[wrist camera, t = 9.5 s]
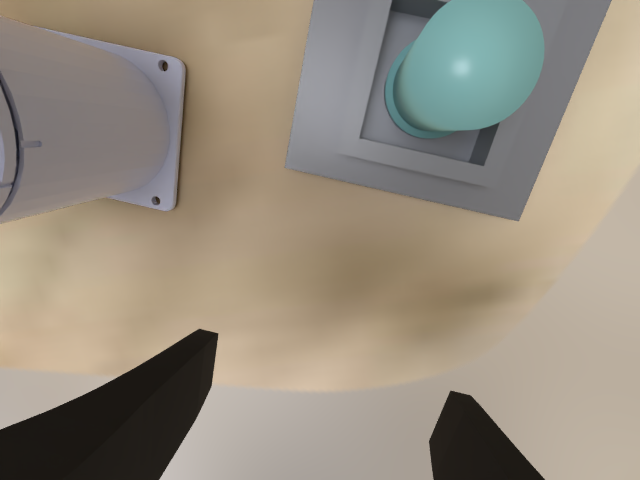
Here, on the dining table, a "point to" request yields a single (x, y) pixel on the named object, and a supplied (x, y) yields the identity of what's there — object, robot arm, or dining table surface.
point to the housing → (427, 153)
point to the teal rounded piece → (466, 68)
